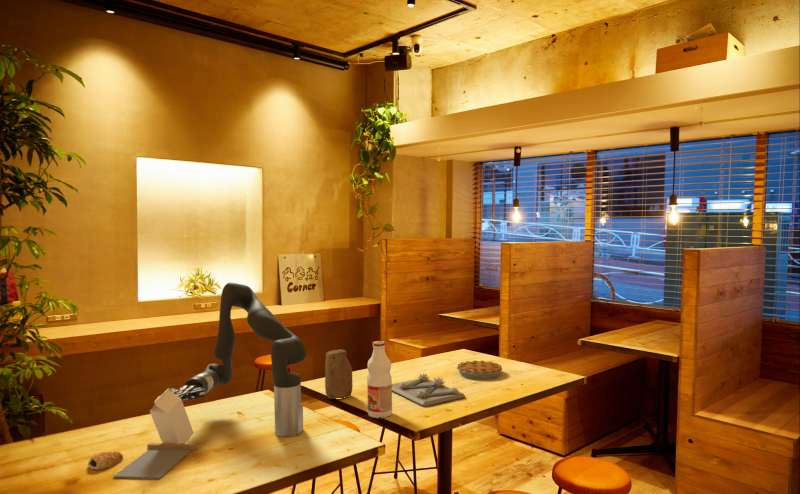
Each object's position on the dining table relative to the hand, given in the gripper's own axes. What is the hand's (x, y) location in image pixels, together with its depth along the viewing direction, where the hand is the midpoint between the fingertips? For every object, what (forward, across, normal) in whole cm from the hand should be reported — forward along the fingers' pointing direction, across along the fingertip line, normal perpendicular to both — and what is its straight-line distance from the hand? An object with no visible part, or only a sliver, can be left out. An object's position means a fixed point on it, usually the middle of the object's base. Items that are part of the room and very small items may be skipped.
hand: (174, 400), depth 182 cm
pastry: (+15, -15, +16) cm, 27 cm away
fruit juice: (-34, +64, +15) cm, 74 cm away
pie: (-94, +104, +15) cm, 141 cm away
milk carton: (-2, 0, +14) cm, 14 cm away
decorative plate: (-62, +80, +15) cm, 102 cm away
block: (-54, +44, +15) cm, 71 cm away
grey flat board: (+14, 0, +16) cm, 21 cm away
